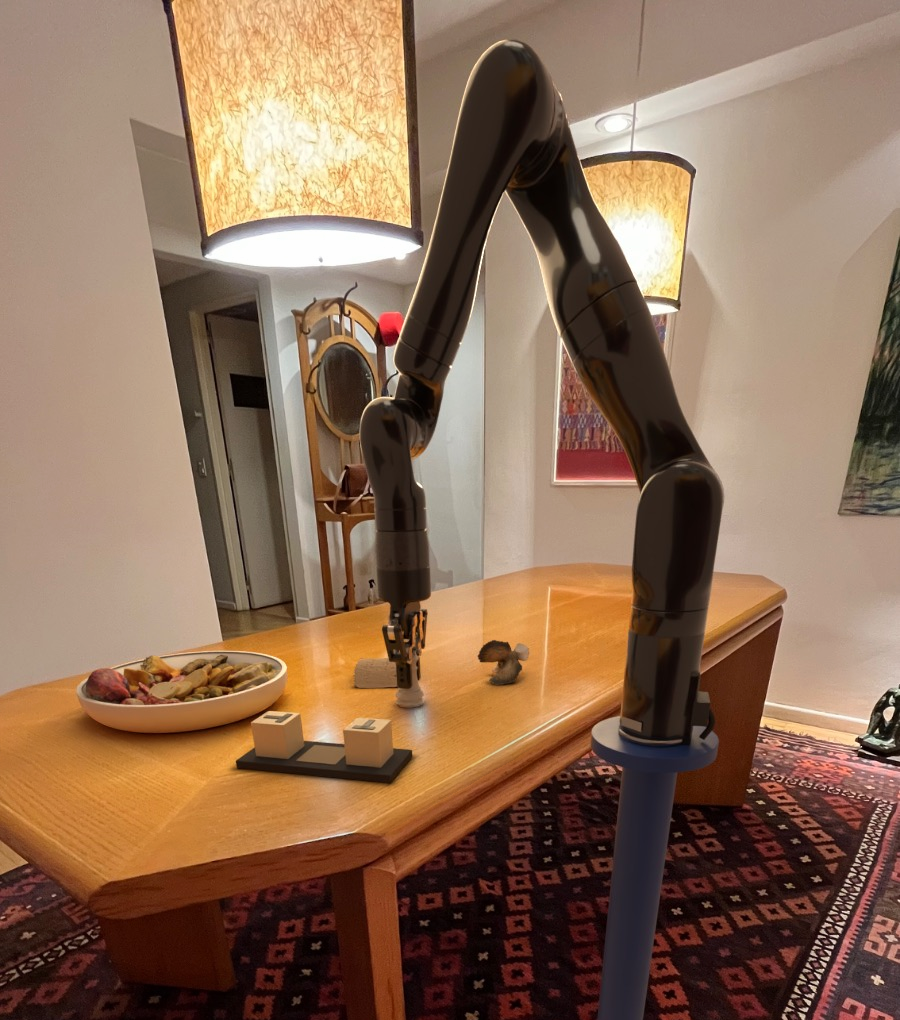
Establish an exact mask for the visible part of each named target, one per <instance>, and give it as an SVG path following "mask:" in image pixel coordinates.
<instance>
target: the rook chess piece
mask: <svg viewBox="0 0 900 1020" xmlns="http://www.w3.org/2000/svg"><path fill="white" fill-rule="evenodd" d="M399 654H400V651H399ZM419 657H420V656H419ZM419 657H418V656H417V655H416V651H415V650H413V653H412V662H411V663H412V681H413V686H412V687H411V688H410V689H402V688H398V687H397V691H396V693H395V697H396V698H397V699H395V703H396V704H397V706H399V707H401V708H408V709H410V708H418V707H421V706H422V705H423V704H424V702H425V701H426V700H425V698H424V696H425V694H424V691H423V689H422V687H421V685H420V684H419V683H420V682H419V681H418V679H417V669H418V667H417V666H416V662H417V660H418V659H419Z"/></svg>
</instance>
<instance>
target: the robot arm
mask: <svg viewBox="0 0 900 1020" xmlns="http://www.w3.org/2000/svg"><path fill="white" fill-rule="evenodd" d="M539 55H540V54H538V53H537V51H536V50H535V49H534V48H533V47H532V46H531V45H530V44H528V43H527V42H525V41H523V40H520V39H517V38H506V39H502V40H500V41H497V42H496V43H494V44H492V45H491V46H490V47H488V49H486V50H485V51H484V52H483V53H482V54H481V56H480V57H479V58H478V60H477V62H476V63H475V65H474V67H472V70H471V72H470V75H469V77H468V80H467V83H466V87H465V89H464V93H463V96H462V100H461V105H460V109H459V113H458V118H457V122H456V127H455V131H454V136H453V142H452V147H451V152H450V157H449V160H448V161H449V162H448V166H447V170H446V175H445V179H444V183H443V187H442V191H441V196H440V200H439V204H438V209H437V213H436V218H435V221H434V225H433V229H432V233H431V237H430V241H429V244H428V248H427V251H426V255H425V258H424V262H423V265H422V268H421V272H420V275H419V278H418V282H417V284H416V287H415V291H414V294H413V296H412V299H411V302H410V304H409V307H408V310H407V313H406V315H405V318H404V321H403V324H402V327H401V330H400V333H399V337H398V339H397V341H396V345H395V348H394V351H393V365H394V367H395V369H396V370H397V372H398V378H397V383H396V387H395V392H394V396H393V397H390V396H381V397H377V398H374V399H372V400H371V401H370V402H369V403H368V404H367V405H366V406H365V408H364V410H363V412H362V415H361V418H360V423H359V443H360V444H359V445H360V451H361V455H362V460H363V463H364V466H365V471H366V475H367V480H368V483H369V486H370V489H371V491H372V495H373V509H374V523H375V524H374V525H375V543H374V550H375V551H374V554H375V567H376V568H375V570H376V583H377V594H378V595H377V596H378V599H379V600H380V601H381V602H385V603H387V604H389V614H388V624H383V625H382V627H381V633H382V637H383V641H384V646H385V649H386V653H387V654H386V655H387V658H389V662H394V663H396V674H397V686H396V687H397V689H398V688H402V689H410V688H411V687H412V686H413V681H412V663H411V662H412V653H413V650H415V651H416V655H417V656H418V657H419V659H418V660H417V662H416V666H417V667H418V669H417V679H418V682H419V681H420V680H421V679H422V677H421V656H422V654H423V653H422V652H423V650H424V649H425V647H426V636H427V623H428V614H429V613H428V609H427V608H422V606H421V602H424V601H427V600H429V599H430V598H431V596H432V585H431V584H432V583H431V557H430V556H431V555H430V554H431V552H430V542H429V536H428V535H429V534H428V521H427V500H426V499H427V498H426V494H425V493H426V492H425V489H424V487H423V485H421V483H419V482H418V481H417V480H416V479H415V475H414V469H413V467H414V466H413V461H412V460H415V459H417V458H419V457H420V456H421V455H422V454H423V453H424V452H425V451H426V449H427V448H428V447H429V445H430V443H431V441H432V439H433V437H434V434H435V432H436V428H437V425H438V421H439V416H440V412H441V407H442V403H443V399H444V391H445V387H446V386H445V385H446V381H447V378H448V377H449V374H450V371H451V370H452V367H453V364H454V362H455V359H456V357H457V355H458V352H459V350H460V347H461V344H462V343H463V340H464V337H465V334H466V331H467V328H468V327H469V322H470V319H471V316H472V312H473V308H474V304H475V298H476V294H477V288H478V281H479V276H480V271H481V266H482V261H483V256H484V251H485V247H486V245H487V244H486V243H487V239H488V236H489V233H490V230H491V226H492V224H493V220H494V218H495V216H496V213H497V209H498V207H499V204H500V202H501V200H502V199H503V196H504V195H505V194H506V196H507V197H508V199H509V201H510V203H511V204H512V206H513V208H514V209H515V211H516V213H517V215H518V216H519V219H520V220H521V223H522V224H523V226H524V228H525V230H526V232H527V234H528V236H529V238H530V241H531V243H532V245H533V248H534V250H535V253H536V256H537V260H538V263H539V267H540V272H541V276H542V280H543V286H544V290H545V294H546V298H547V302H548V306H549V310H550V313H551V316H552V320H553V322H554V326H555V327H556V330H557V333H558V335H559V337H560V339H561V342H562V344H563V346H564V349H565V351H566V353H567V355H568V358H569V361H570V362H571V364H572V367H573V368H574V371H575V372H576V374H577V376H578V378H579V380H580V382H581V383H582V385H583V387H584V389H585V391H586V392H587V395H588V396H589V397H590V399H591V400H592V402H593V403H594V405H595V407H596V408H597V409H598V411H599V412H600V415H601V416H602V417H603V418H604V420H605V421H606V423H607V424H608V425H609V427H610V429H611V430H612V431H613V433H614V434H615V436H616V437H617V439H618V440H619V443H620V445H621V446H622V448H623V451H624V453H625V455H626V457H627V459H628V460H627V461H628V463H629V465H630V468H631V471H632V473H633V475H634V479H635V482H636V484H637V487H638V491H639V497H638V502H637V505H636V506H637V507H636V513H635V523H634V535H633V547H632V560H631V561H632V562H631V575H630V583H631V599H630V611H629V621H628V632H627V643H626V654H625V664H624V673H623V684H622V693H621V694H622V695H621V706H620V715H619V716H620V724H619V728H618V734H619V736H620V737H621V738H623V739H624V740H626V741H629V742H631V743H634V744H638V745H642V746H649V747H673V746H679V745H691V738H692V731H693V726H704V727H706V729H705V730H704V731H703V732H702V733H701V734H700V736H699V737H700V738H701V739H703V740H705V738H706V737H707V736H708V735H709V734H710V733H711V731H713V730H714V728H715V725H716V717H715V715H714V713H713V710H712V708H711V700H710V695H709V691H699V689H700V683H701V682H700V681H701V674H702V673H701V669H700V668H701V663H702V655H703V649H704V642H705V636H706V635H705V634H706V627H707V622H708V621H707V620H708V615H709V614H708V613H709V606H710V599H711V595H712V587H713V579H714V571H715V563H716V555H717V549H718V543H719V536H720V529H721V528H720V527H721V523H722V517H723V511H724V510H723V509H724V505H725V490H724V485H723V481H722V480H721V478H720V476H719V475H718V473H717V472H716V470H715V469H714V467H713V466H712V465H711V463H710V461H709V460H708V458H707V456H706V454H705V452H704V450H703V449H702V447H701V446H700V443H699V442H698V440H697V437H696V436H695V434H694V433H693V431H692V429H691V426H690V425H689V423H688V420H687V418H686V417H685V415H684V412H683V409H682V406H681V405H680V402H679V398H678V396H677V392H676V389H675V384H674V381H673V378H672V373H671V370H670V367H669V366H670V365H669V364H668V360H667V357H666V354H665V350H664V347H663V345H662V342H661V339H660V336H659V332H658V330H657V327H656V325H655V321H654V317H653V315H652V313H651V311H650V308H649V306H648V303H647V301H646V299H645V296H644V293H643V291H642V289H641V286H640V284H639V282H638V279H637V277H636V275H635V273H634V270H633V269H632V266H631V265H630V263H629V261H628V259H627V257H626V255H625V252H624V251H623V248H622V247H621V245H620V243H619V241H618V240H617V238H616V236H615V234H614V233H613V231H612V229H611V227H610V225H609V224H608V222H607V221H606V219H605V218H604V215H603V214H602V213H601V211H600V208H599V207H598V205H597V203H596V202H595V199H594V197H593V194H592V192H591V190H590V186H589V184H588V181H587V179H586V175H585V172H584V169H583V166H582V163H581V160H580V157H579V153H578V151H577V148H576V144H575V141H574V138H573V134H572V130H571V127H570V123H569V120H568V117H567V116H568V115H567V112H566V109H565V105H564V102H563V98H562V95H561V92H560V90H559V89H558V87H557V85H556V82H555V81H554V79H553V78H552V75H551V73H550V71H549V70H548V68H547V67H546V65H545V63H544V61H543V60H542V58H541V57H540V56H539ZM399 652H400V654H399Z"/></svg>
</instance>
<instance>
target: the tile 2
mask: <svg viewBox="0 0 900 1020" xmlns="http://www.w3.org/2000/svg"><path fill="white" fill-rule="evenodd" d="M342 733H343V734H342V735H343V744H344V745H345V755H346V764H347V765H357V766H368V767H379V768H381V767H382V766H383V765H384V764H385V763H386V761H387V760H388V759H389V758H390V757H391V756H392V755H393V754H394V753H393V748H394V739H393V723H392V719H385V718H384V719H383V718H373V717H372V718H371V717H356V718H355V719H353V721H352V722H351V723H349V724H348V725H347V726H346V727H344V728H343V729H342Z"/></svg>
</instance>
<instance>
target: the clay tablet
mask: <svg viewBox="0 0 900 1020" xmlns="http://www.w3.org/2000/svg"><path fill="white" fill-rule="evenodd" d="M353 671H354V672H353V673H354V675H353V683H354V686H355V687H357V688H359V689H377V688H378V689H379V688H380V689H381V688H396V687H398V686H397V674H396V663H394V662H389V658H388V657H385V658H384V657H382V658H381V657H380V658H378V657H377V658H373V657H372V658H363V657H360V659H358V661H357V663H355V666H354V670H353Z"/></svg>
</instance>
